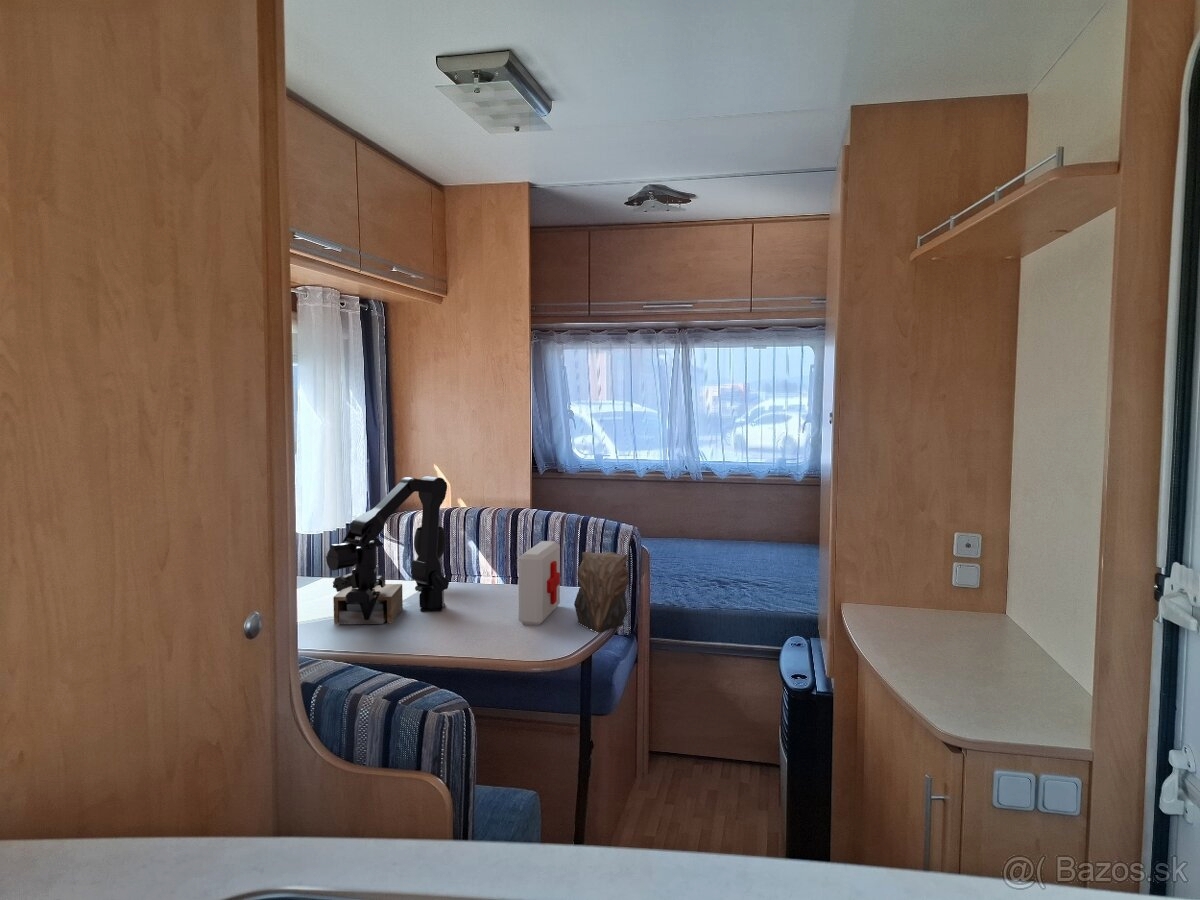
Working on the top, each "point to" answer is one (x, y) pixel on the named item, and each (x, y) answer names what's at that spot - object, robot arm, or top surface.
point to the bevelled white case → (539, 582)
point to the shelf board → (362, 617)
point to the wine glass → (440, 545)
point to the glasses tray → (378, 606)
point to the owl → (602, 590)
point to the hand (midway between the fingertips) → (366, 619)
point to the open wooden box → (386, 593)
